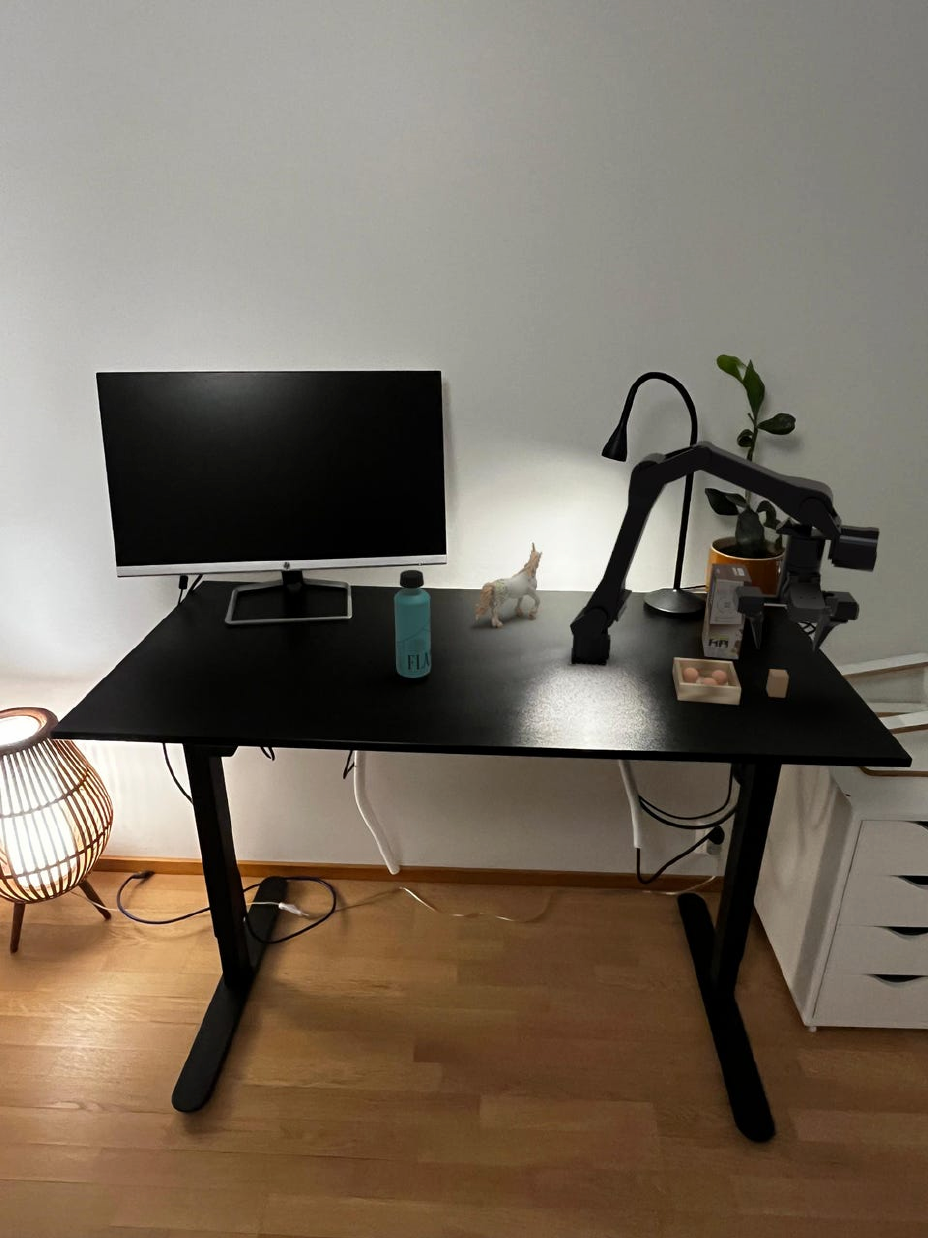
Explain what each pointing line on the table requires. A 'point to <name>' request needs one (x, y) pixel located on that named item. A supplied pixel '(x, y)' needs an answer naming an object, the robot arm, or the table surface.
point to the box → (704, 691)
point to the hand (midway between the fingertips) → (785, 649)
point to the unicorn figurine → (511, 590)
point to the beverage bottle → (412, 626)
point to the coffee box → (724, 611)
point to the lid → (777, 683)
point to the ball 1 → (690, 675)
